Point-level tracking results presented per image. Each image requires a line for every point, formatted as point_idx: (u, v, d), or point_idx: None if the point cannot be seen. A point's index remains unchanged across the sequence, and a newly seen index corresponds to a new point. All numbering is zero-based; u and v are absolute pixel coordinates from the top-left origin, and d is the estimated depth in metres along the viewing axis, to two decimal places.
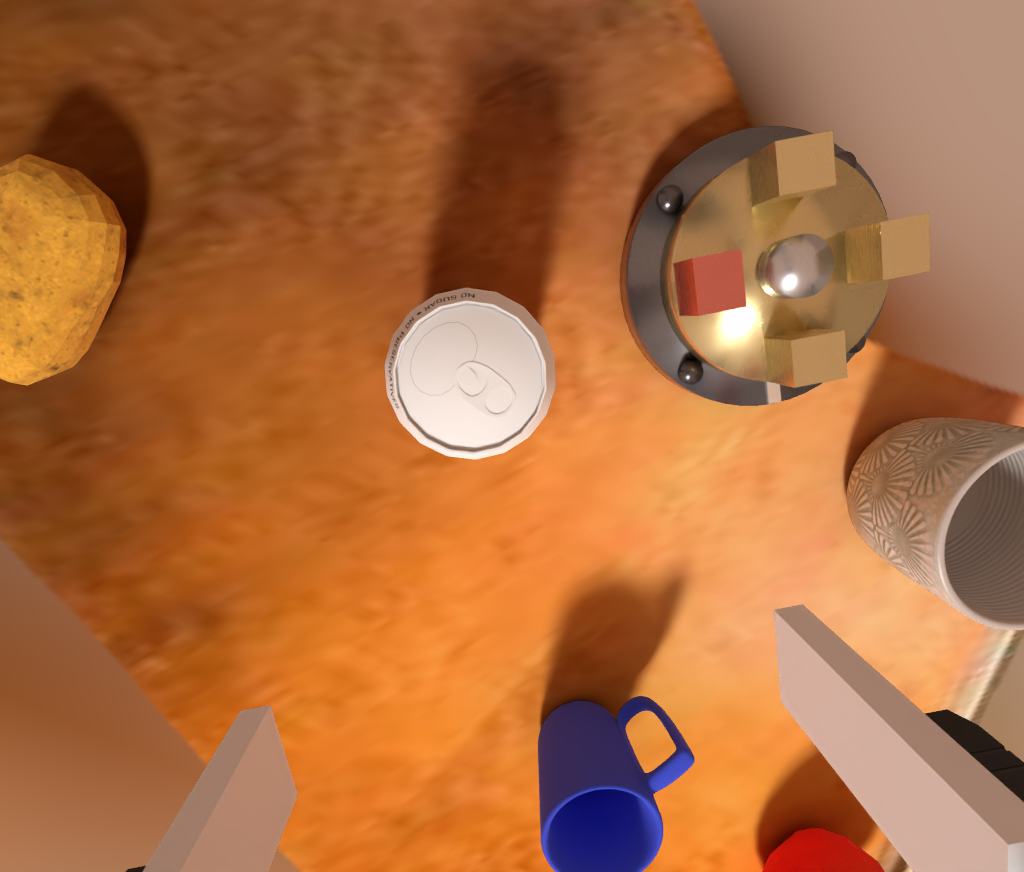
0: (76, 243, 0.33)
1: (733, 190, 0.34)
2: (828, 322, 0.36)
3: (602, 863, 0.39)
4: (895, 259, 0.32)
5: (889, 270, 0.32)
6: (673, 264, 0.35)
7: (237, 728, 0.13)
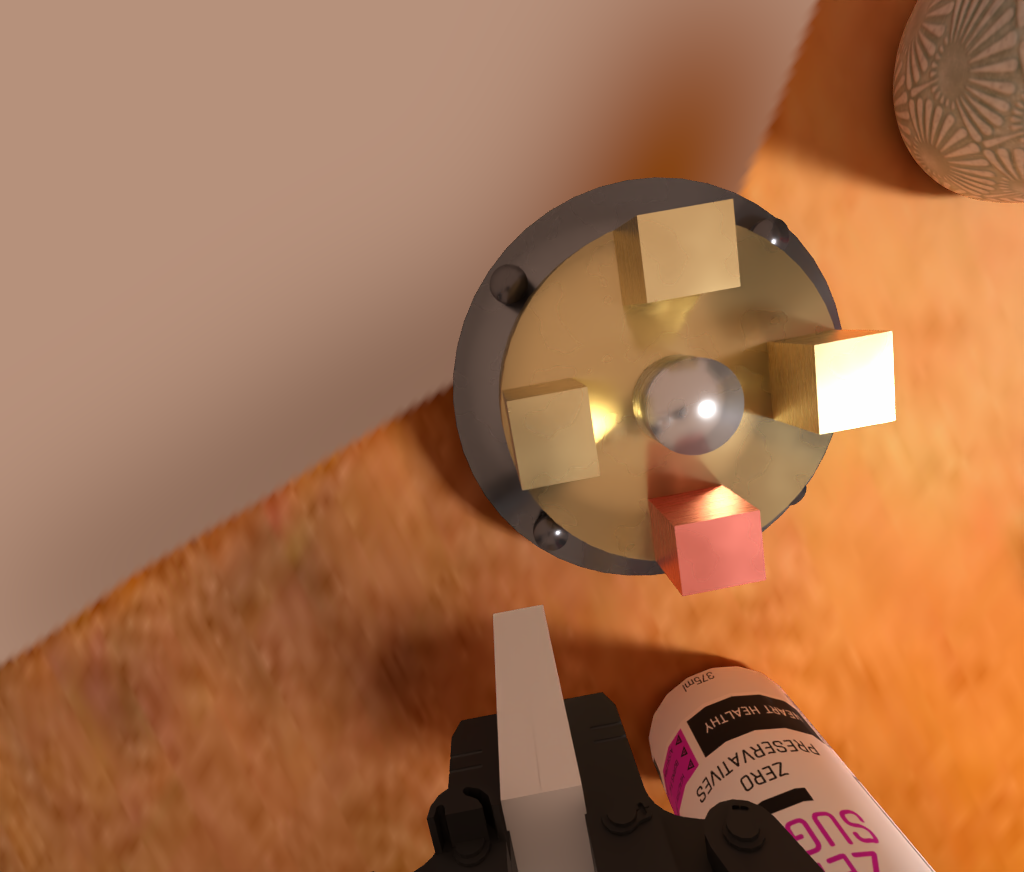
0: None
1: (560, 484, 0.23)
2: (760, 316, 0.22)
3: None
4: (708, 268, 0.19)
5: (724, 277, 0.19)
6: (657, 559, 0.24)
7: (500, 624, 0.16)
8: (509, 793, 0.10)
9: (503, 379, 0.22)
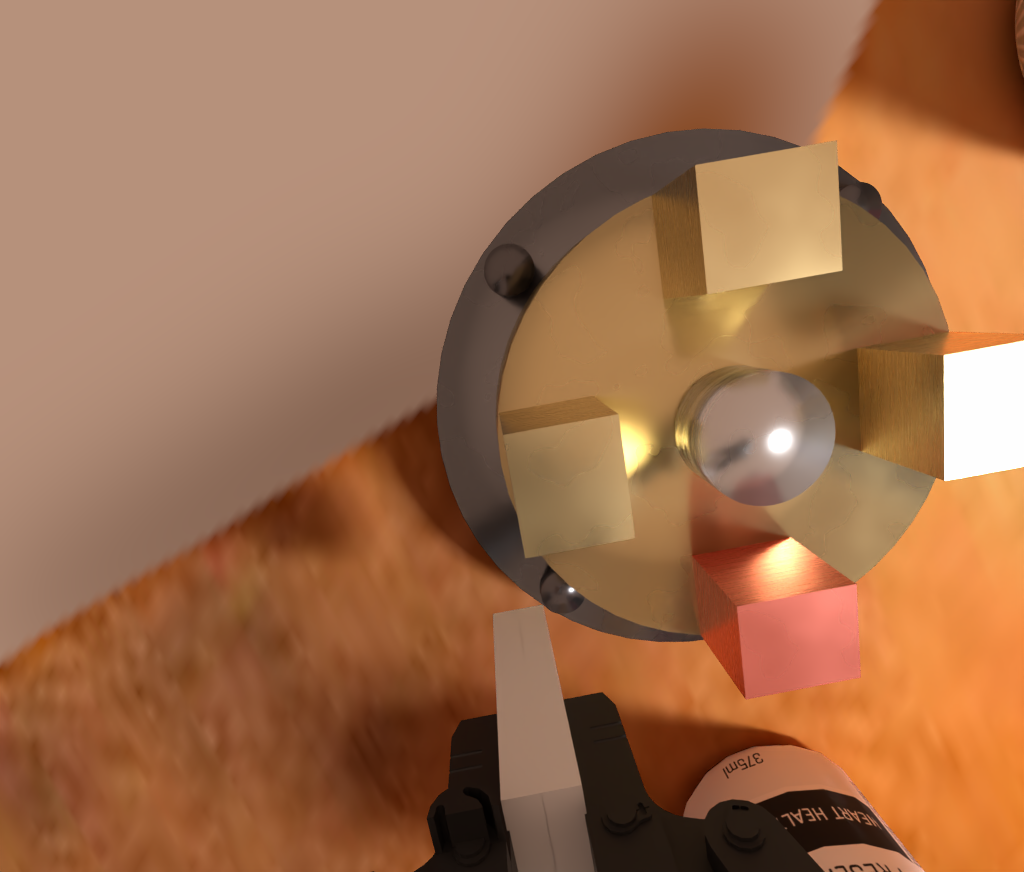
0: None
1: None
2: (848, 313, 0.17)
3: None
4: (797, 243, 0.13)
5: (820, 257, 0.13)
6: (702, 632, 0.18)
7: (500, 624, 0.16)
8: (509, 793, 0.10)
9: (500, 398, 0.16)
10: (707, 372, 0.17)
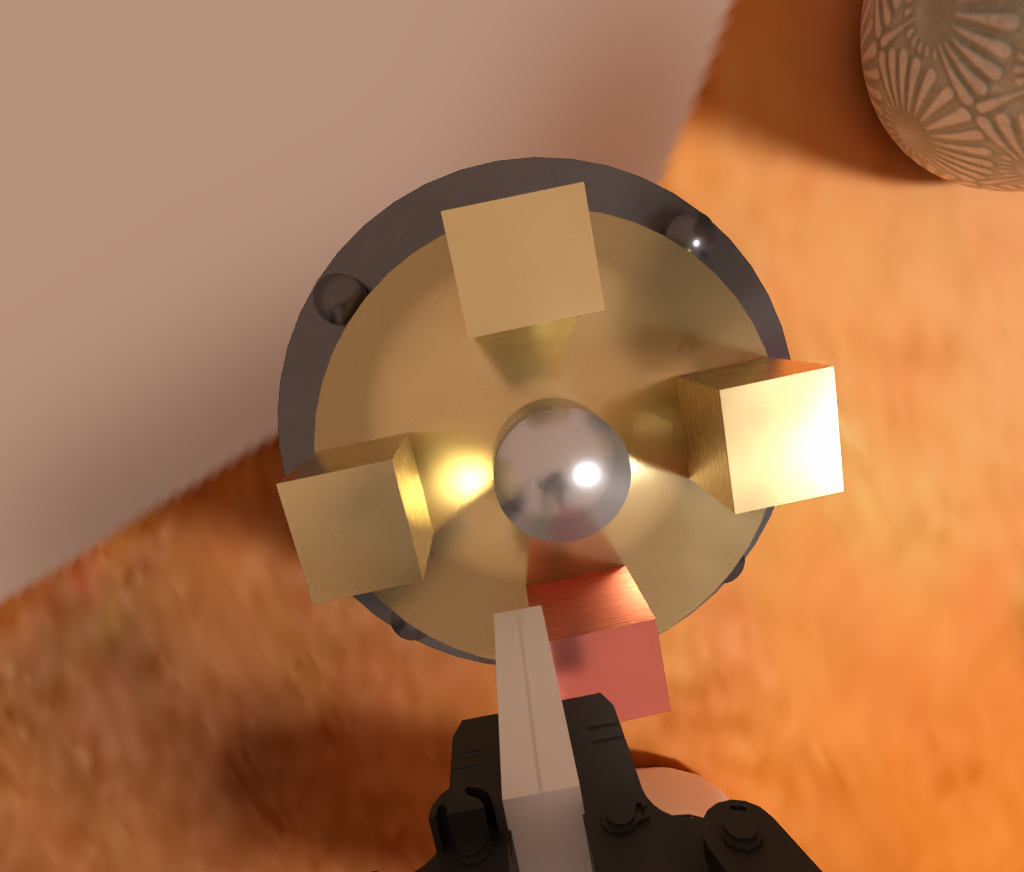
0: None
1: None
2: (663, 342, 0.16)
3: None
4: (555, 285, 0.13)
5: (580, 297, 0.13)
6: None
7: (501, 624, 0.16)
8: (510, 793, 0.10)
9: (315, 437, 0.16)
10: (523, 405, 0.17)
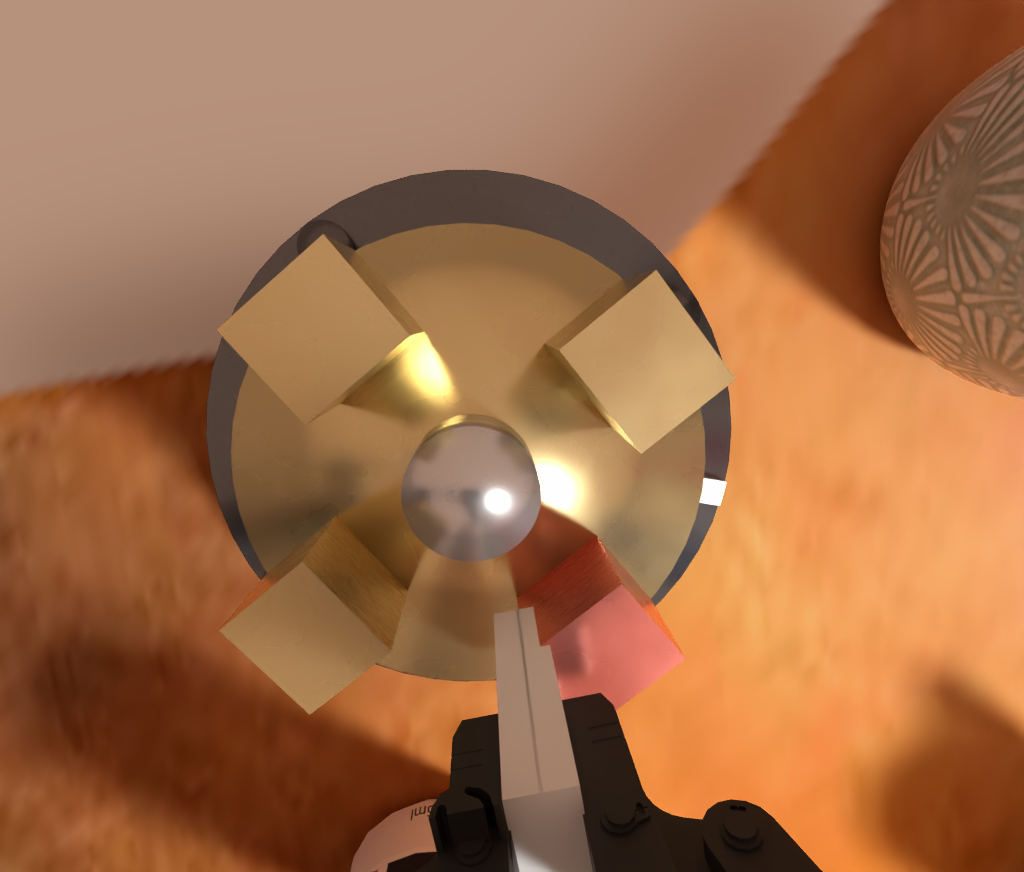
0: None
1: (403, 634, 0.18)
2: (515, 318, 0.16)
3: None
4: (352, 337, 0.13)
5: (381, 336, 0.13)
6: None
7: (501, 624, 0.16)
8: (510, 793, 0.10)
9: (261, 560, 0.17)
10: None
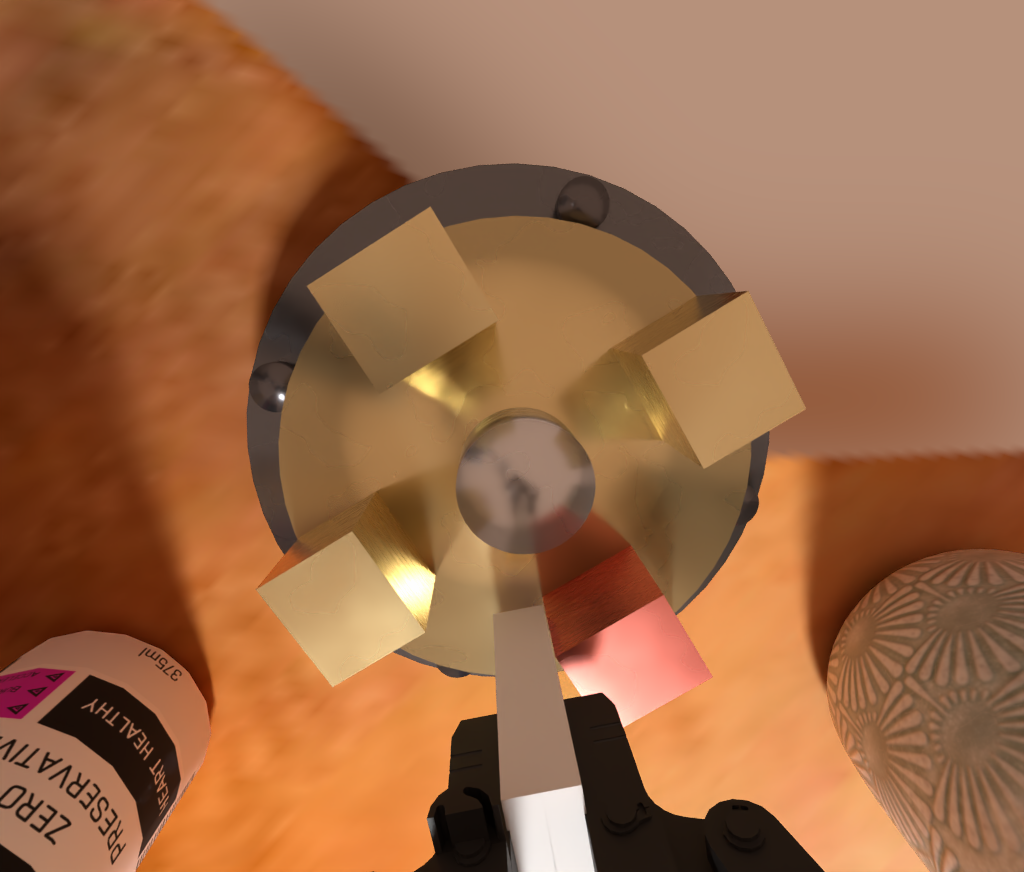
0: None
1: None
2: (586, 320, 0.16)
3: None
4: (442, 314, 0.13)
5: (470, 317, 0.13)
6: None
7: (500, 625, 0.16)
8: (509, 793, 0.10)
9: (293, 525, 0.17)
10: None
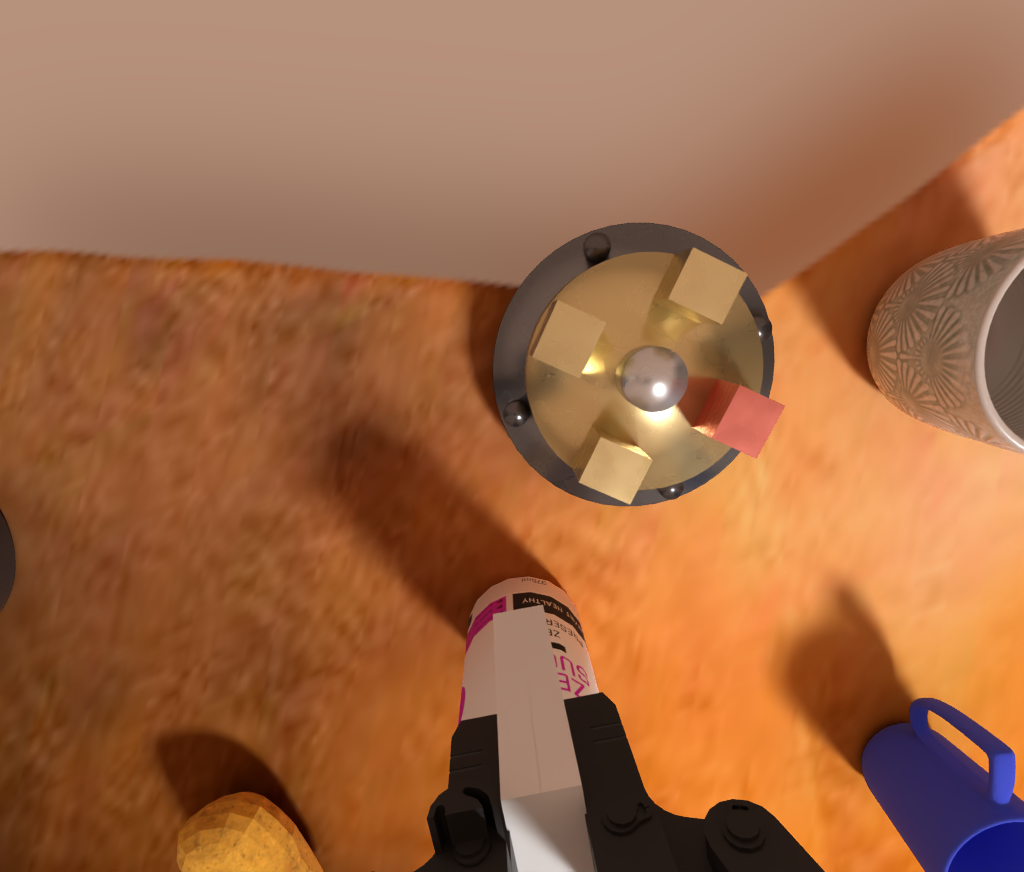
0: (253, 851, 0.39)
1: None
2: (633, 296, 0.32)
3: None
4: (584, 334, 0.30)
5: (595, 328, 0.29)
6: None
7: (500, 625, 0.16)
8: (509, 793, 0.10)
9: (566, 462, 0.34)
10: (615, 372, 0.33)
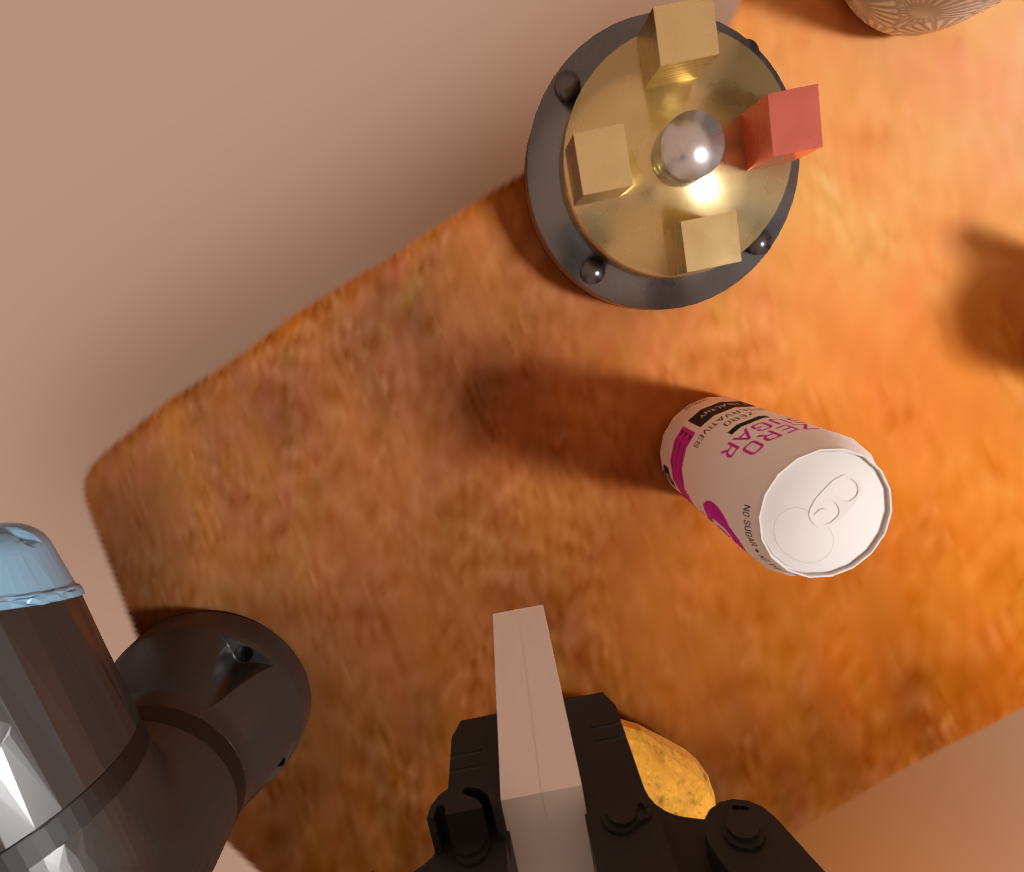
0: None
1: None
2: (627, 96, 0.33)
3: None
4: (612, 146, 0.31)
5: (618, 134, 0.31)
6: (790, 161, 0.34)
7: (500, 625, 0.16)
8: (509, 793, 0.10)
9: (662, 275, 0.36)
10: (653, 171, 0.34)
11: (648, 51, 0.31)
